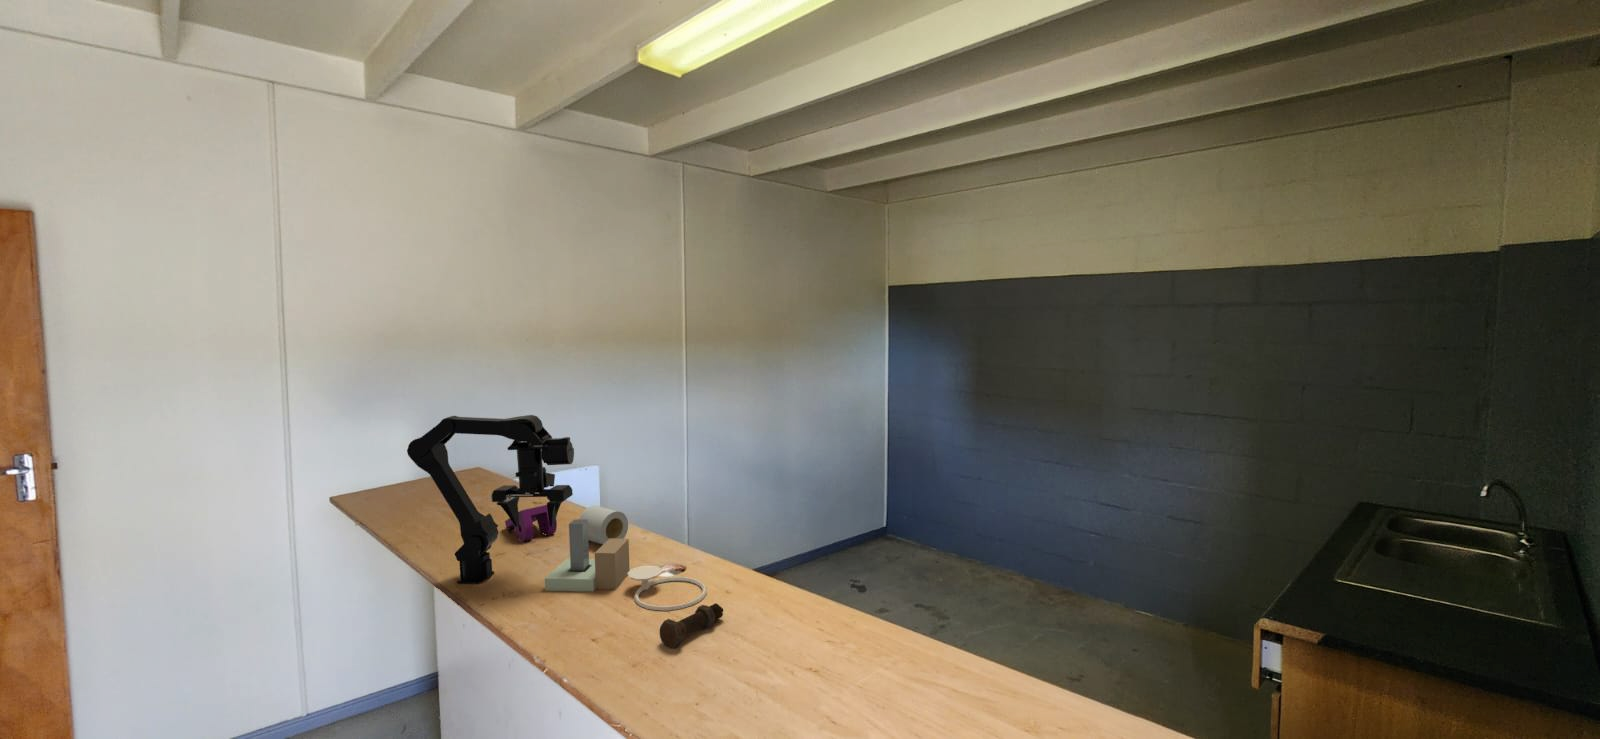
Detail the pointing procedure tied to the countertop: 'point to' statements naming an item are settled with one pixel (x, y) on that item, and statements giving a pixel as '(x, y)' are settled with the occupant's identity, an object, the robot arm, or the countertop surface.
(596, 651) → the countertop surface
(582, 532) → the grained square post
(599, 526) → the toilet paper
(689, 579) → the hand towel holder
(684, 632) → the bolt
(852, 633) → the countertop surface
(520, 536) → the mounting bracket
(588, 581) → the square holed base
